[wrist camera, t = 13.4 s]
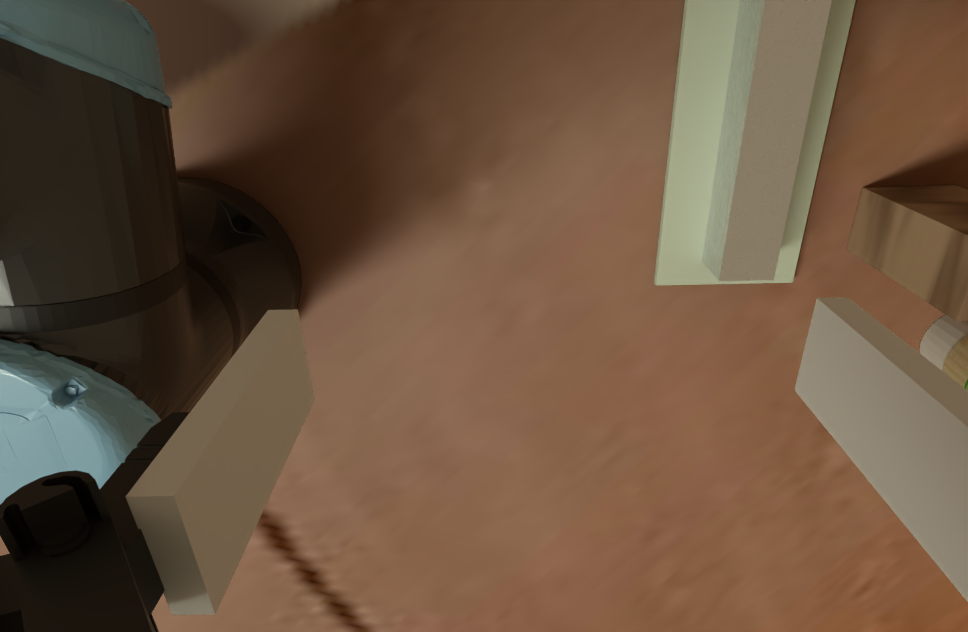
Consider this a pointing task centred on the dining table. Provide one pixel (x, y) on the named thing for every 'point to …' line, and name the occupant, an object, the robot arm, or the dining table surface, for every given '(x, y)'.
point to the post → (917, 241)
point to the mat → (699, 136)
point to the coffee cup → (948, 348)
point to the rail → (762, 134)
